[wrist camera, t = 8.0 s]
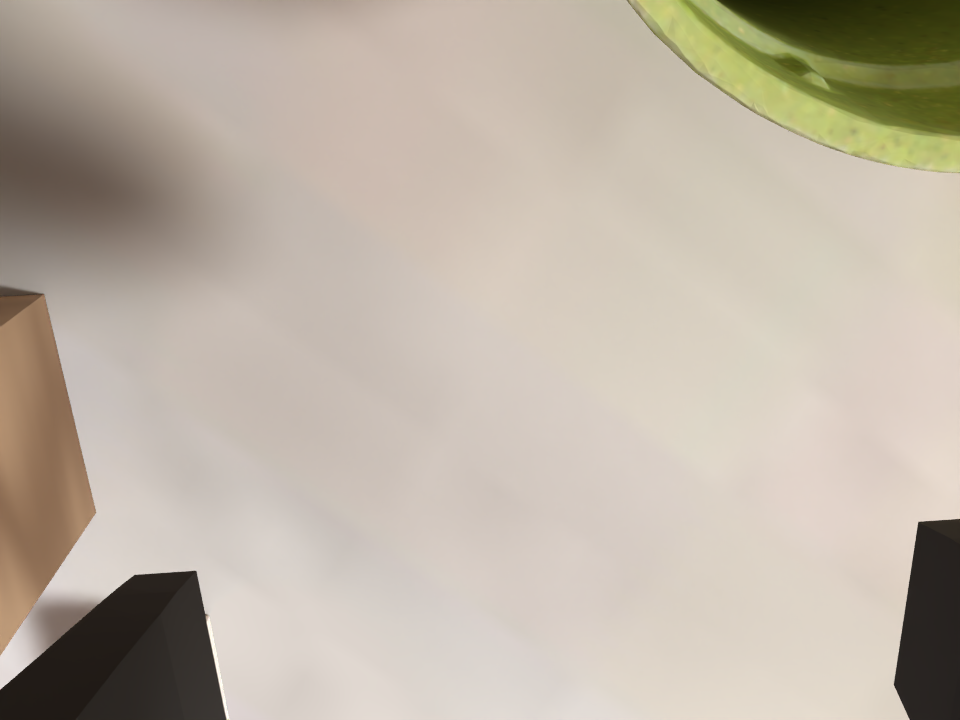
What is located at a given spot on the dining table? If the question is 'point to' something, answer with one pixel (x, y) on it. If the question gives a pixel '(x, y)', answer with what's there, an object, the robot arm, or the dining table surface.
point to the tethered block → (35, 461)
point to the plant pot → (831, 69)
